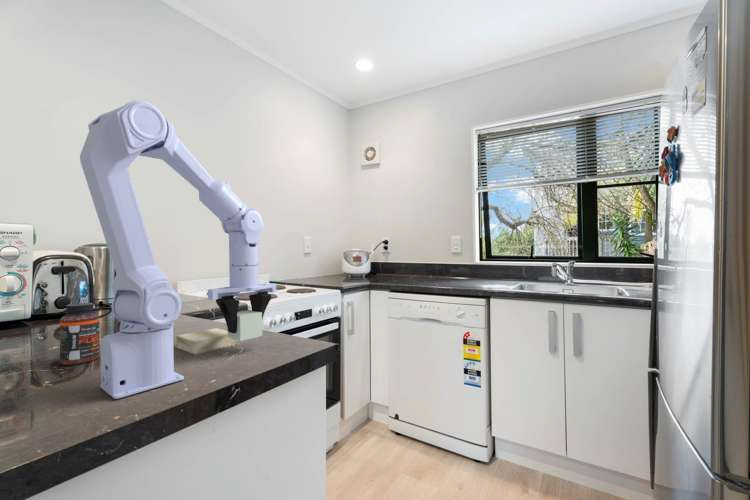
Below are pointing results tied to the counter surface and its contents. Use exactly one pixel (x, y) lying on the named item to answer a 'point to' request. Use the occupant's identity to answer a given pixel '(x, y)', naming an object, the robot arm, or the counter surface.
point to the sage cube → (247, 325)
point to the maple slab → (204, 341)
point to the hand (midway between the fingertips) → (245, 329)
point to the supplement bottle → (79, 334)
